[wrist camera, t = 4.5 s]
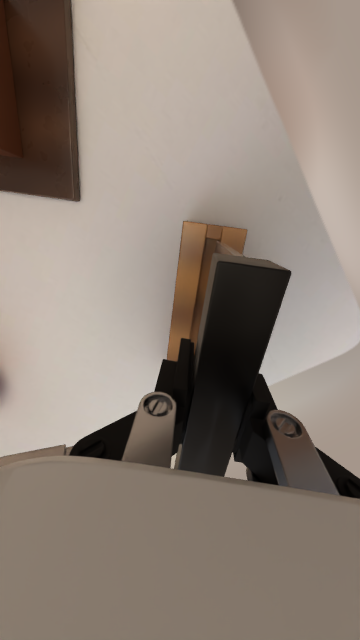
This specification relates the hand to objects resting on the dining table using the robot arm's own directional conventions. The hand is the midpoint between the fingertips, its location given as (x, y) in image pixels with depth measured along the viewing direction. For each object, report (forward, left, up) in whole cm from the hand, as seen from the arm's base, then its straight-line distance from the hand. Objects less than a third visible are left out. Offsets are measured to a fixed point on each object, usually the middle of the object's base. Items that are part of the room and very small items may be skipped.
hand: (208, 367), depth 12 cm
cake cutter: (0, 0, -7) cm, 7 cm away
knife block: (0, 0, -12) cm, 12 cm away
